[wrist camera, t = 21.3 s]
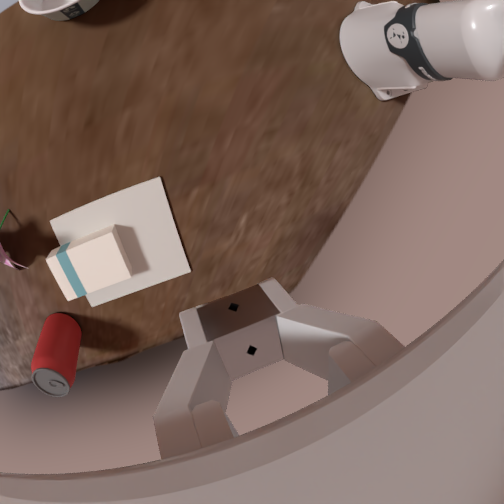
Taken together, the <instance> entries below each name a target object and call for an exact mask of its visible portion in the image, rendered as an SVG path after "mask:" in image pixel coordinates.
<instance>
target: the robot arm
mask: <svg viewBox="0 0 504 504" xmlns="http://www.w3.org/2000/svg"><path fill="white" fill-rule="evenodd" d="M340 44H341V48H342V52H343V55H344V57H345V59H346V61H347V63H348V65H349V66H350V68H351V69H352V71H353V72H354V73H355V74H356V75H357V76H358V77H359V78H360V79H361V80H362V81H363V82H365V83H366V84H367V85H368V86H369V87H370V88H371V89H372V91H373V92H374V94H375V95H376V97H377V98H378V99H379V100H381V101H383V100H388V99H391V98H394V97H398V96H401V95H404V94H407V93H411V92H414V91H418V90H421V89H425V88H427V86H428V83H429V82H433V81H445V80H451V79H452V78H462V79H475V80H485V81H496V80H499V79H502V78H504V0H456V1H448V2H441V3H434V4H426V3H413V4H409V5H406V6H403V5H402V4H399V3H397V2H396V1H390V2H385V3H380V4H376V5H372V4H370V3H367V2H364V1H362V2H358V3H357V5H356V7H355V10H354V12H353V13H351V14H350V15H349V16H347V17H346V18H345V19H344V21H343V23H342V25H341V29H340ZM196 309H197V310H196ZM179 316H180V320H181V324H182V328H183V331H184V335H185V339H186V342H187V345H188V350H186V351H184V352H183V354H182V356H181V358H180V360H179V362H178V365H177V367H176V369H175V371H174V373H173V375H172V377H171V379H170V381H169V384H168V386H167V388H166V390H165V392H164V394H163V396H162V399H161V401H160V403H159V405H158V407H157V410H156V411H155V414H154V416H153V420H154V426H155V431H156V436H157V441H158V446H159V451H160V455H161V460H157V461H152V462H147V463H143V464H137V465H132V466H126V467H120V468H114V469H107V470H99V471H91V472H80V473H65V474H14V473H2V472H0V504H504V260H503V261H502V262H501V263H500V264H499V265H498V267H496V269H495V270H494V271H493V272H492V273H491V274H490V275H489V276H488V277H487V278H486V279H485V280H484V281H483V282H482V283H481V284H480V285H479V286H478V287H477V288H476V289H475V290H474V291H473V292H471V294H469V295H468V296H467V297H466V298H465V299H464V300H463V301H462V302H461V303H460V304H458V305H457V306H456V307H455V308H454V309H453V310H451V311H450V312H449V313H448V314H447V315H446V316H445V317H443V318H442V319H441V320H440V321H438V322H437V323H436V324H435V325H433V326H432V327H431V328H430V329H428V330H427V331H426V332H425V333H423V334H422V335H421V336H419V337H418V338H417V339H415V340H414V341H413V342H411V343H410V344H409V345H407V346H406V347H405V346H403V345H402V344H401V343H400V342H399V341H398V340H397V339H396V338H395V337H394V336H393V335H392V334H390V333H389V332H388V331H387V330H386V329H385V328H384V327H383V326H382V325H380V324H379V323H378V322H377V321H374V320H370V319H365V318H361V317H356V316H352V315H348V314H344V313H340V312H335V311H331V310H327V309H323V308H319V307H315V306H311V305H307V304H301V305H298V304H297V303H296V302H295V301H294V300H293V299H292V297H291V296H290V295H289V294H288V293H287V292H286V291H285V289H284V288H283V287H282V286H281V285H280V284H279V283H278V282H277V280H276V279H275V278H270V279H267V280H265V281H263V282H260V283H258V284H257V285H254V286H252V287H249V288H247V289H244V290H242V291H239V292H237V293H234V294H231V295H229V296H225V297H222V298H220V299H217V300H214V301H211V302H208V303H205V304H202V305H200V306H197V307H196V308H195V307H194V308H191V309H188V310H186V311H183V312H180V314H179ZM283 359H284V360H285V361H287V362H289V363H291V364H293V365H295V366H298V367H300V368H302V369H304V370H306V371H308V372H310V373H312V374H315V375H317V376H319V377H321V378H323V379H326V380H328V396H326V397H324V398H322V399H320V400H318V401H317V402H314V403H313V404H310V405H308V406H307V407H304V408H302V409H300V410H298V411H297V412H294V413H292V414H290V415H288V416H285V417H283V418H281V419H279V420H277V421H274V422H272V423H270V424H268V425H265V426H263V427H260V428H258V429H255V430H253V431H250V432H248V433H245V434H243V435H240V436H239V434H238V432H237V431H236V429H235V428H234V426H233V424H232V423H231V421H230V419H229V418H228V416H227V415H226V409H227V404H228V399H229V395H230V390H231V385H232V381H233V380H235V379H238V378H240V377H243V376H245V375H247V374H249V373H251V372H254V371H256V370H258V369H261V368H264V367H266V366H268V365H271V364H274V363H276V362H278V361H281V360H283Z"/></svg>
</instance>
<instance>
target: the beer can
mask: <svg viewBox="0 0 504 504" xmlns="http://www.w3.org/2000/svg"><path fill="white" fill-rule="evenodd" d="M81 335H82V332H81V329H80V326H79V325H78V323H77V322H76V321H75V320H74V319H73V318H72V317H70V316H68V315H66V314H62V313H55V314H52V315H50V316H49V317H47V318H46V321H45V323H44V326H43V329H42V331H41V334H40V337H39V340H38V343H37V346H36V350H35V353H34V356H33V359H32V363H31V368H32V381H33V383H34V385H35V386H36V387H37V388H38V389H39V390H41V391H42V392H43V393H45V394H47V395H50V396H54V397H62V396H65V395H67V394H68V393H69V391H70V388H71V386H72V384H73V383H74V380H75V374H76V367H77V360H78V353H79V347H80V342H81Z"/></svg>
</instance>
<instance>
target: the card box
mask: <svg viewBox="0 0 504 504" xmlns="http://www.w3.org/2000/svg"><path fill="white" fill-rule="evenodd" d="M46 261H47V263H48V265H49V267H50V269H51V271H52V273H53V275H54V277H55V279H56V281H57V283H58V284H59V286H60V288H61V290H62V292H63V293H64V295H65V297H66V299H67V300H68V301H70V300H72V299H75V298H78V297H81V296H83V295H86V294H88V293H91V292H94V291H96V290H99V289H102V288H104V287H107V286H110V285H113V284H115V283H118V282H121V281H123V280H126V279H129V278H131V275H132V266H131V264H130V262H129V259H128V257H127V255H126V252H125V250H124V247H123V245H122V243H121V240H120V238H119V235H118V233H117V230H116V227H115V225H114V224H113V225H111V226H108V227H106V228H103V229H101V230H98V231H96V232H93V233H91V234H88V235H86V236H83V237H81V238H79V239H76V240H74V241H72V242H69V243H66V244H64V245H62V246H60V247H58V248H55V249H53V250H52V251H51V252H50V254H49V255H48V257H47V258H46Z"/></svg>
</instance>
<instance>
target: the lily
mask: <svg viewBox="0 0 504 504" xmlns="http://www.w3.org/2000/svg"><path fill="white" fill-rule="evenodd" d="M9 211H10V210H9V209H8V210H7V212H6V214H5V216H4V218H3V220H2V222H1V225H0V229H1V227H2V225H3V222H4V220H5V218H6V216H7V214H8V212H9ZM9 261H11V262H13V263H14V264H16V265H19V266H21V267H24V266H22V265H20V264H18V263H16V262H14V261H13V260H11V259H10V258H9V257H8V256H7V255H6V253H5V252H4V250H3V248H2V245H1V243H0V262H2V263H4V264H6V265H8V266H10V267H13V266H12V265H11V263H10V262H9ZM13 268H14V267H13ZM24 268H27V267H24ZM15 269H17V268H15ZM17 270H19V269H17Z"/></svg>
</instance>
